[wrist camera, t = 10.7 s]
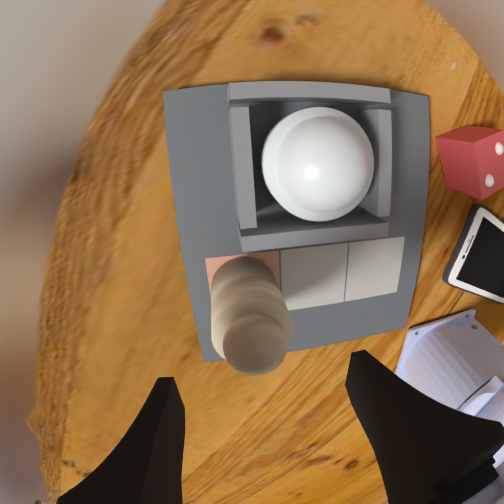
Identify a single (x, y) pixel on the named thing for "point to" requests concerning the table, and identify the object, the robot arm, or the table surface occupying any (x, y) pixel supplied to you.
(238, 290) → the pawn
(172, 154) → the game board
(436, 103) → the table surface
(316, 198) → the dome
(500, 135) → the red die
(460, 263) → the cell phone
